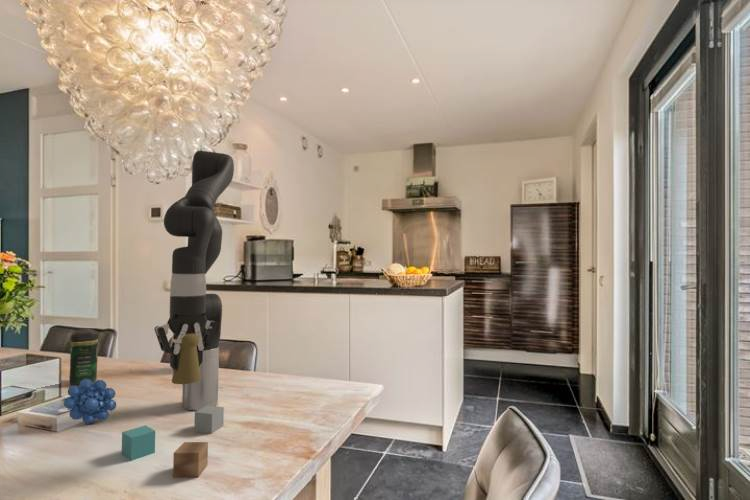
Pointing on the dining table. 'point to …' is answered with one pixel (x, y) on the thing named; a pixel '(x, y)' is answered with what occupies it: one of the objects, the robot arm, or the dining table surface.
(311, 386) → the dining table surface
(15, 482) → the dining table surface
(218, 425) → the slate-grey block
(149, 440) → the deep teal block
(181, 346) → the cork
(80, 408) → the blue knobby flower
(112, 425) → the dining table surface
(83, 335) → the coffee jar
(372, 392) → the dining table surface
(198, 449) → the walnut block
